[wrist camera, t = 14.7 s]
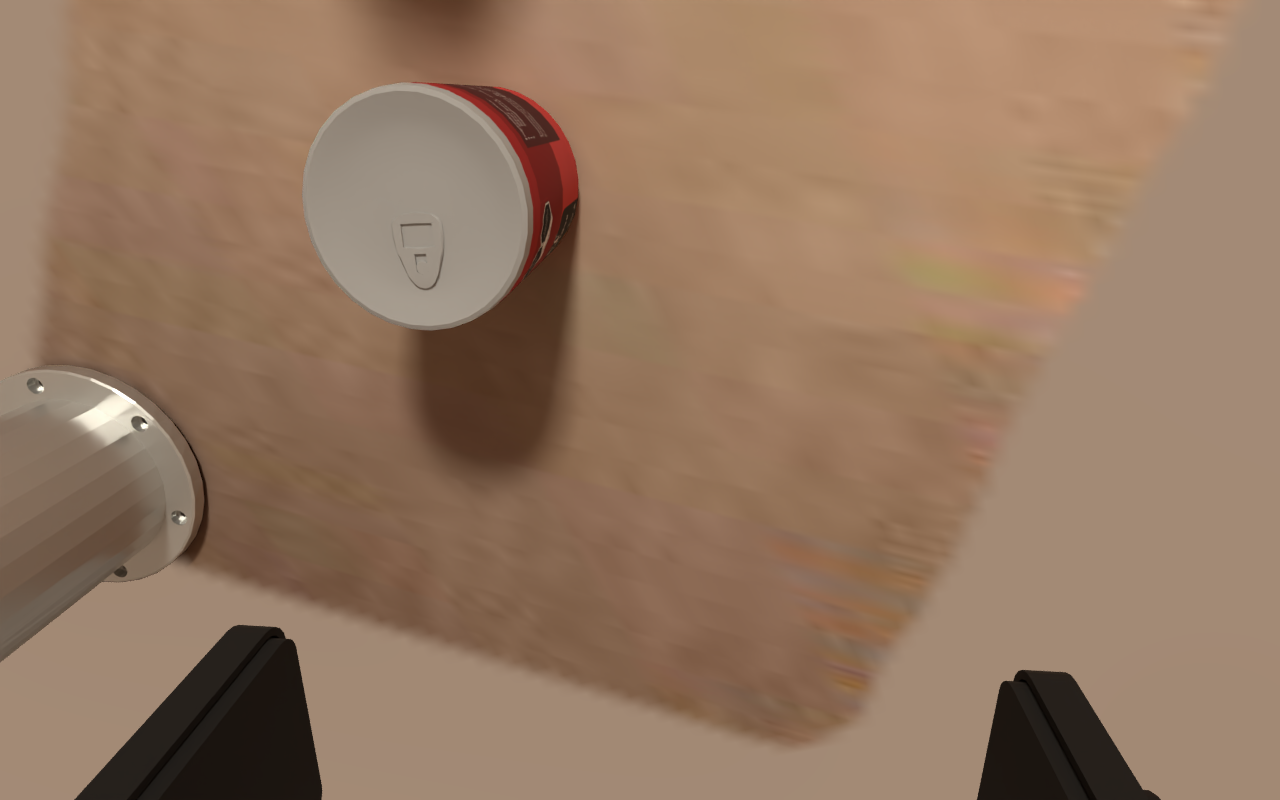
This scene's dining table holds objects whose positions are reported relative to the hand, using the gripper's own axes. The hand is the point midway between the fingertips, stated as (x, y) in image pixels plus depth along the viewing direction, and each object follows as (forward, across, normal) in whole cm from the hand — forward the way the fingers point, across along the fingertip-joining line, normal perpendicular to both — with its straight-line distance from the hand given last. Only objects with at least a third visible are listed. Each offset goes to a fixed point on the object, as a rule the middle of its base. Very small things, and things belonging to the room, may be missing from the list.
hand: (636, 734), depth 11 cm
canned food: (+28, +9, -4) cm, 30 cm away
